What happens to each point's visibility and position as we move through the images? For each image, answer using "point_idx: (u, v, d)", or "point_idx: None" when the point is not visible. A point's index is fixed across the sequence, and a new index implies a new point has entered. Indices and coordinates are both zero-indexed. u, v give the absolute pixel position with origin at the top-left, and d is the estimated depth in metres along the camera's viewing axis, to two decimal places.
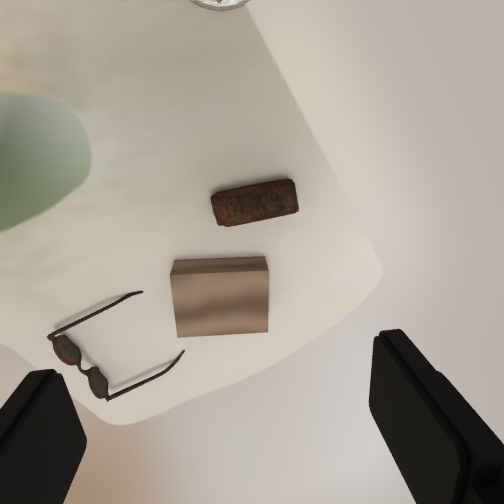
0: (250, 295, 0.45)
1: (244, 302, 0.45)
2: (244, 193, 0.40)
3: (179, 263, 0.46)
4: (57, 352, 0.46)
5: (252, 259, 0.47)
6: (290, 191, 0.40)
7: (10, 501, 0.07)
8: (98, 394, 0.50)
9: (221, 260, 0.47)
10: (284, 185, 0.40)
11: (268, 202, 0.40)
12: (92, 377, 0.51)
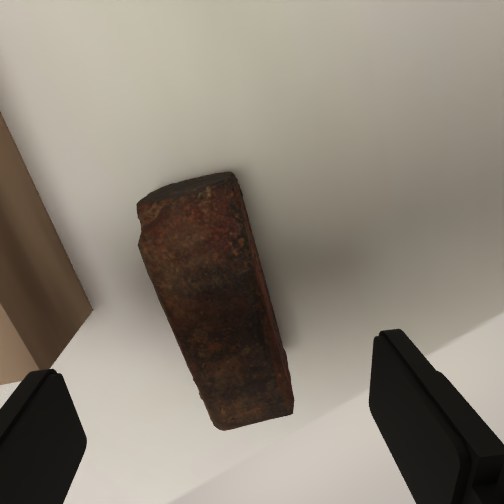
0: None
1: None
2: (262, 292, 0.12)
3: None
4: None
5: (68, 287, 0.15)
6: (275, 410, 0.14)
7: (10, 501, 0.07)
8: None
9: (29, 196, 0.14)
10: (289, 390, 0.14)
11: (241, 362, 0.13)
12: None
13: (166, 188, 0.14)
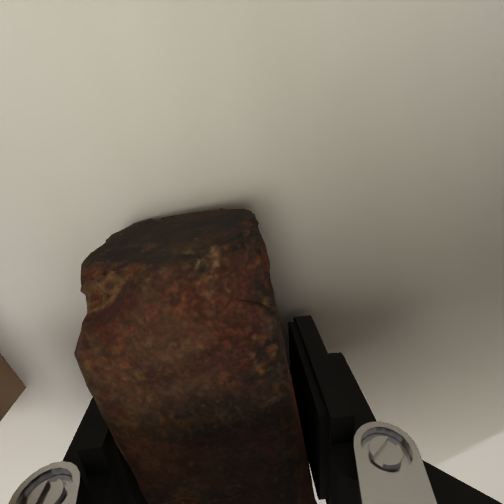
0: None
1: None
2: None
3: None
4: None
5: None
6: None
7: None
8: None
9: None
10: None
11: None
12: None
13: (139, 230, 0.08)
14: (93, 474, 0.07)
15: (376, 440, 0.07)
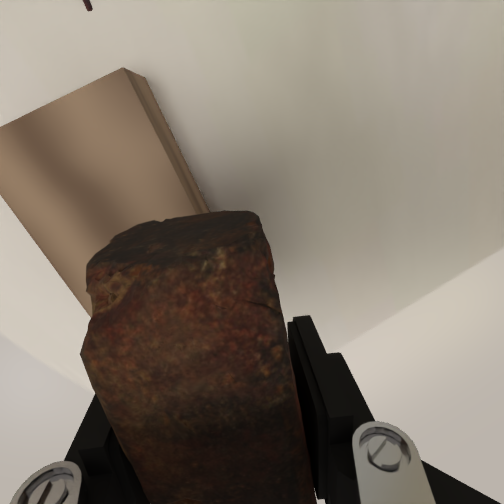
0: None
1: None
2: None
3: (146, 87, 0.21)
4: None
5: None
6: None
7: None
8: None
9: (189, 174, 0.23)
10: None
11: None
12: None
13: (143, 231, 0.08)
14: (94, 474, 0.07)
15: (374, 440, 0.07)
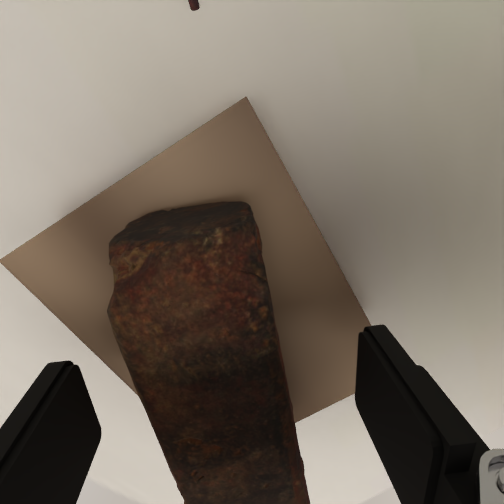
0: (299, 375, 0.14)
1: None
2: None
3: None
4: None
5: None
6: None
7: (34, 485, 0.07)
8: None
9: None
10: None
11: (247, 469, 0.09)
12: None
13: (153, 218, 0.10)
14: None
15: (503, 471, 0.06)
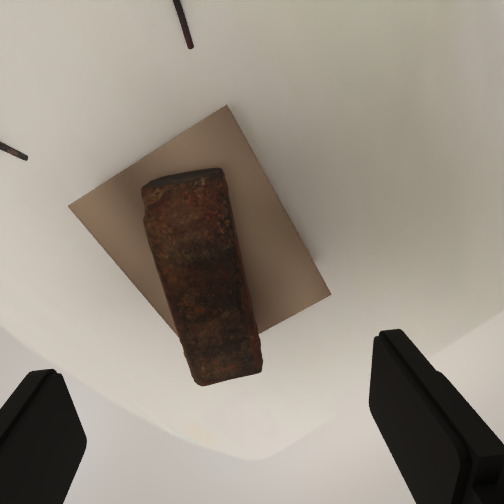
0: (264, 294, 0.21)
1: None
2: (241, 266, 0.15)
3: None
4: None
5: None
6: (247, 367, 0.17)
7: (10, 501, 0.07)
8: None
9: None
10: (259, 351, 0.17)
11: (221, 324, 0.16)
12: None
13: (164, 178, 0.16)
14: None
15: None
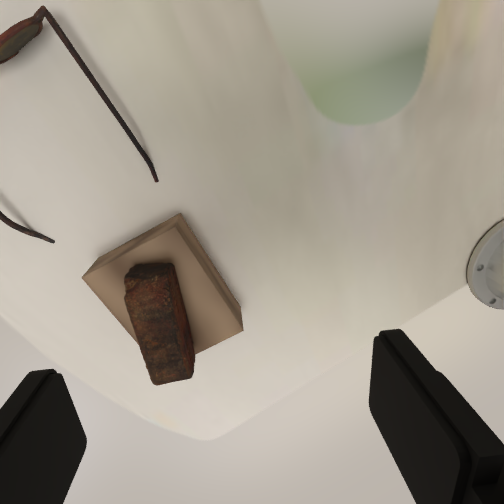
0: (200, 329, 0.33)
1: None
2: (177, 320, 0.28)
3: (183, 222, 0.32)
4: (15, 31, 0.23)
5: (233, 298, 0.36)
6: (182, 375, 0.29)
7: (10, 501, 0.07)
8: None
9: (213, 267, 0.35)
10: (190, 366, 0.30)
11: (166, 351, 0.28)
12: None
13: (138, 267, 0.29)
14: None
15: None
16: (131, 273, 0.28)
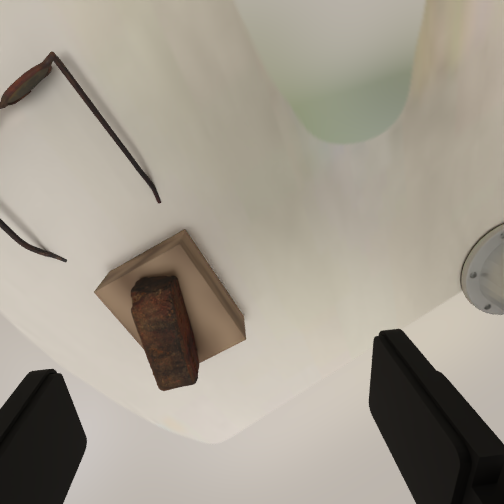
0: (205, 339, 0.35)
1: None
2: (181, 330, 0.30)
3: (187, 238, 0.34)
4: (28, 76, 0.25)
5: (236, 308, 0.38)
6: (186, 381, 0.31)
7: (10, 501, 0.07)
8: None
9: (217, 279, 0.37)
10: (193, 372, 0.31)
11: (171, 359, 0.30)
12: None
13: (143, 281, 0.31)
14: None
15: None
16: (137, 287, 0.30)
